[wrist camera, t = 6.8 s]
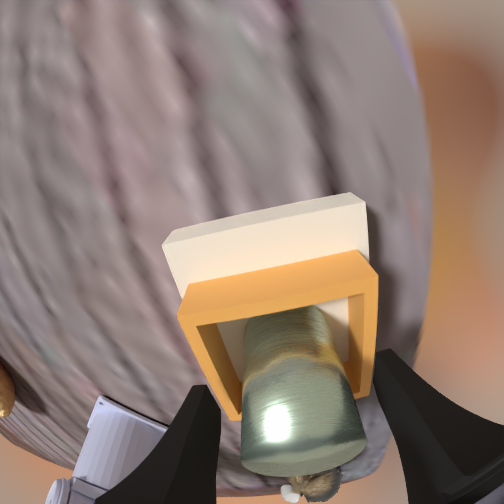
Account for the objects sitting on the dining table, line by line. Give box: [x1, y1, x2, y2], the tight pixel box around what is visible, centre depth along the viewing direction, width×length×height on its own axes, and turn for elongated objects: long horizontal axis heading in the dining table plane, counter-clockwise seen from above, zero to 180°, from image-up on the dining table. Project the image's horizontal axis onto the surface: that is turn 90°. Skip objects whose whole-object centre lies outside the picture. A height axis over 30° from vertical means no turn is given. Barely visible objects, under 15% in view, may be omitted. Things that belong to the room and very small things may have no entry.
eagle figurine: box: [281, 469, 343, 503], centre depth 22 cm, size 8×7×9 cm
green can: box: [241, 305, 367, 477], centre depth 10 cm, size 4×4×7 cm
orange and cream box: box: [162, 192, 378, 421], centre depth 13 cm, size 12×9×4 cm
